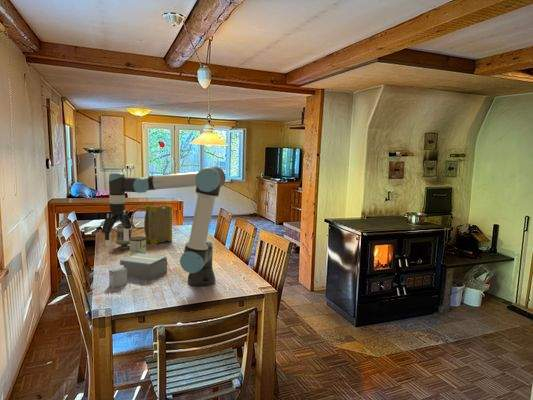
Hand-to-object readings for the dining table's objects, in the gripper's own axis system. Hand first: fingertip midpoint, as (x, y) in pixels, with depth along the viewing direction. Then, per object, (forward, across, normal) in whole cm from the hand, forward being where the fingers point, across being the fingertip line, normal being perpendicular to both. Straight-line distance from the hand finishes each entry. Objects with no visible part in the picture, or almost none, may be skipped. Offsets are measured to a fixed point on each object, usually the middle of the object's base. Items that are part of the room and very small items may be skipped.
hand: (117, 243), depth 187 cm
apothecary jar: (+23, -65, -48) cm, 84 cm away
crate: (+23, -21, +2) cm, 31 cm away
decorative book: (+23, -91, -36) cm, 100 cm away
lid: (+16, -21, +1) cm, 27 cm away
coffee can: (+23, -46, -22) cm, 56 cm away
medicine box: (+23, 0, 0) cm, 23 cm away
